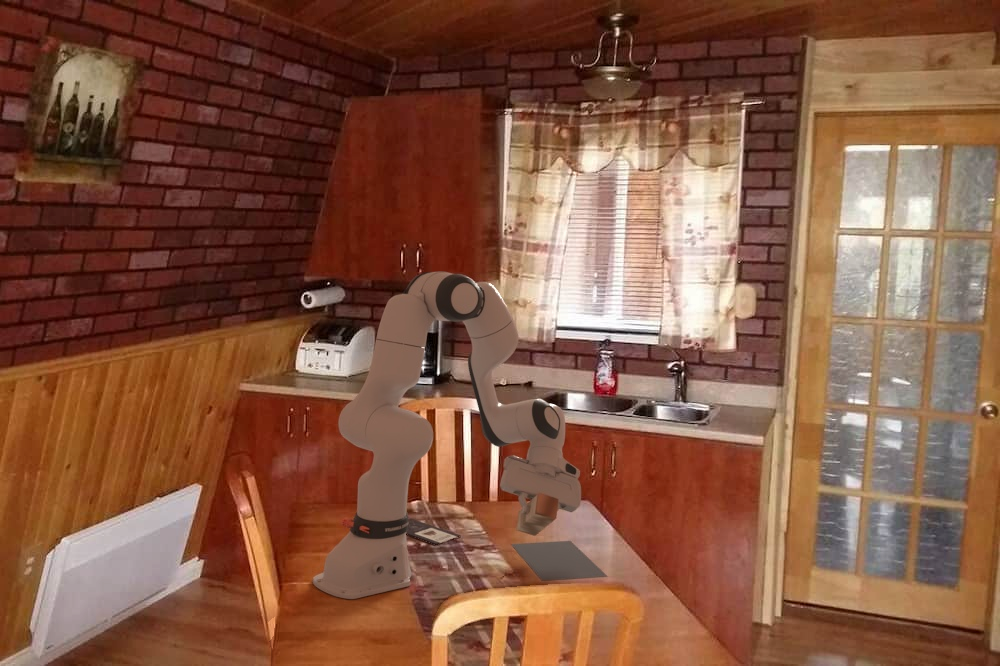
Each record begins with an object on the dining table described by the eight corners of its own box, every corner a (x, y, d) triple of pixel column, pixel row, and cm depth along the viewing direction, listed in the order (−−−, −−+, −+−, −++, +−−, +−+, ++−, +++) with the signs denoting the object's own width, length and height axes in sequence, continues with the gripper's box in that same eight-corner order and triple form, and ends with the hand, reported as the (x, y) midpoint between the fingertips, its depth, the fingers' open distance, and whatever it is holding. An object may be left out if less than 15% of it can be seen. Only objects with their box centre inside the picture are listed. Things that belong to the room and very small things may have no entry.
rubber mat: (607, 578, 210) (607, 576, 210) (542, 583, 206) (542, 580, 206) (570, 543, 233) (570, 540, 233) (510, 546, 229) (510, 544, 229)
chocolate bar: (410, 518, 245) (460, 535, 233) (410, 521, 245) (460, 539, 234) (386, 525, 238) (436, 543, 227) (386, 529, 238) (436, 547, 227)
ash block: (516, 530, 219) (536, 512, 210) (518, 511, 222) (539, 492, 213) (535, 536, 221) (556, 518, 211) (537, 517, 224) (558, 498, 214)
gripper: (510, 447, 219) (502, 499, 211) (586, 472, 224) (581, 524, 216) (500, 458, 224) (492, 509, 216) (574, 482, 229) (569, 533, 221)
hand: (537, 517), depth 216 cm, fingers closed on ash block, 5 cm apart
